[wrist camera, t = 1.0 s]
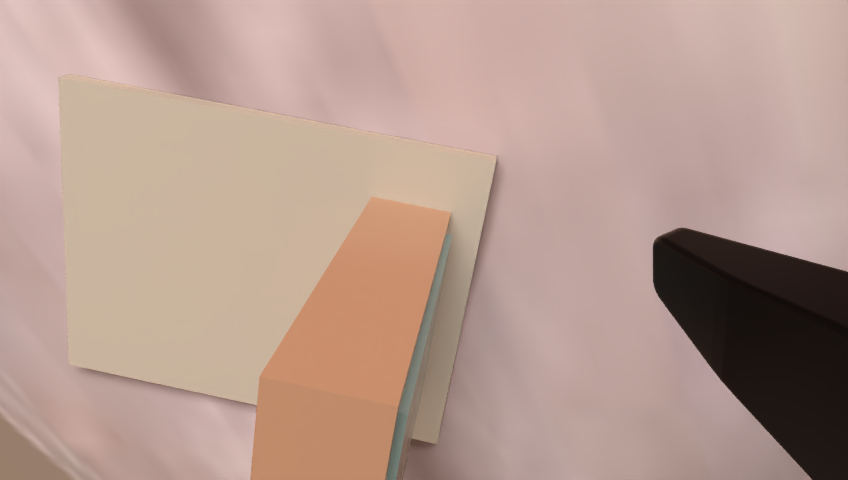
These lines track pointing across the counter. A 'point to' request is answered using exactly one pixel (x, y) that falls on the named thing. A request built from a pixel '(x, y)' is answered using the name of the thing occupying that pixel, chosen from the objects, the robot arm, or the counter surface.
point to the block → (356, 354)
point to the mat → (234, 232)
